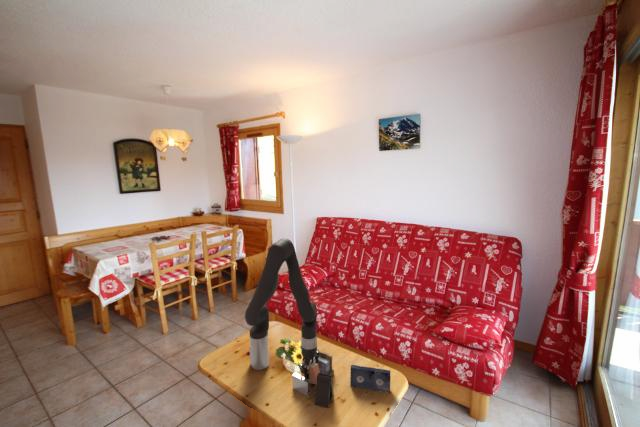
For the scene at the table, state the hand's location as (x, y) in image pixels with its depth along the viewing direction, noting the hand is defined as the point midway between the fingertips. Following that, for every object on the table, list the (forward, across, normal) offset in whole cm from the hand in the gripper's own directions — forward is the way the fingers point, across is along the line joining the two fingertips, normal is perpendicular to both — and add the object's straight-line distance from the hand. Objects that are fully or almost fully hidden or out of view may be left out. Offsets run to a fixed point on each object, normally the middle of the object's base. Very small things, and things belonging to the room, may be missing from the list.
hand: (309, 376), depth 146 cm
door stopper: (+3, -5, -12) cm, 13 cm away
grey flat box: (+3, -7, -1) cm, 7 cm away
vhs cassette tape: (+3, +13, -26) cm, 29 cm away
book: (+1, 0, -2) cm, 2 cm away
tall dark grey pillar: (+3, +1, -1) cm, 3 cm away
